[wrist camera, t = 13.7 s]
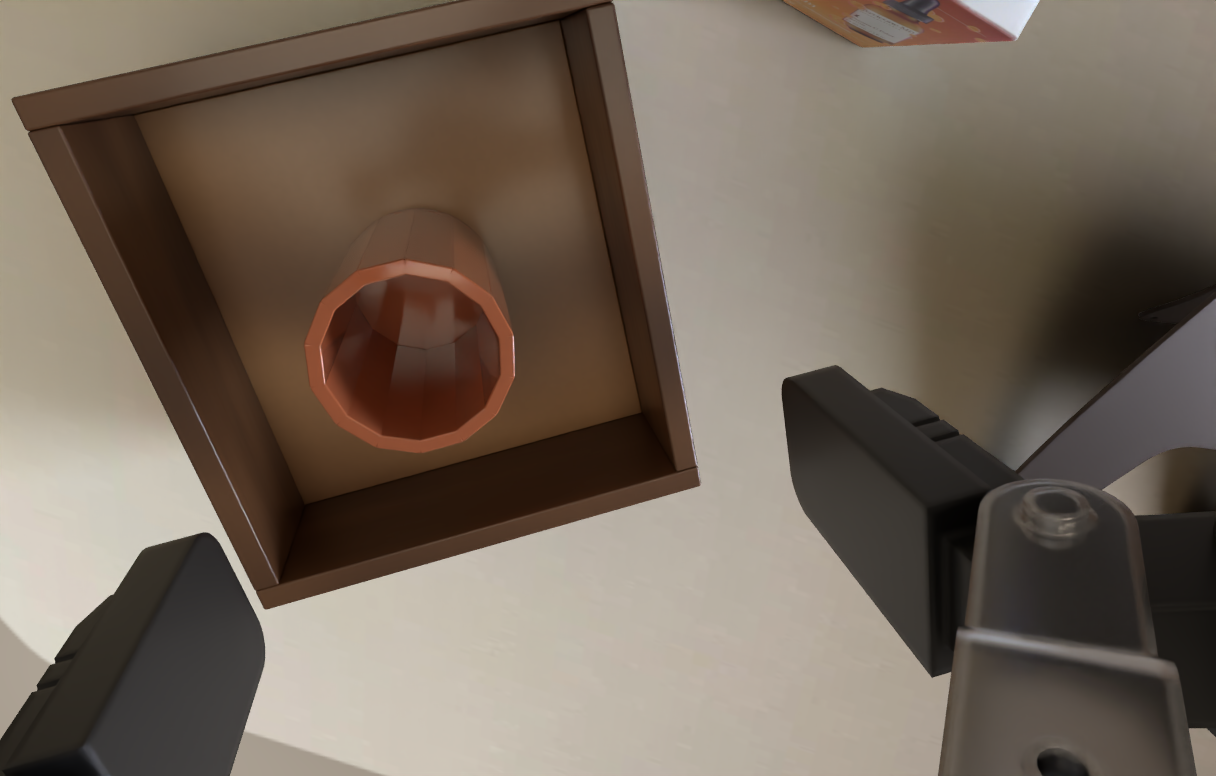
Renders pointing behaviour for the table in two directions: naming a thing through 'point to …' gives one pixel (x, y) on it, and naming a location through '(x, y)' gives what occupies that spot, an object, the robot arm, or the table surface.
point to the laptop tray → (1143, 403)
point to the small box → (920, 20)
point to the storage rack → (319, 240)
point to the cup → (412, 335)
